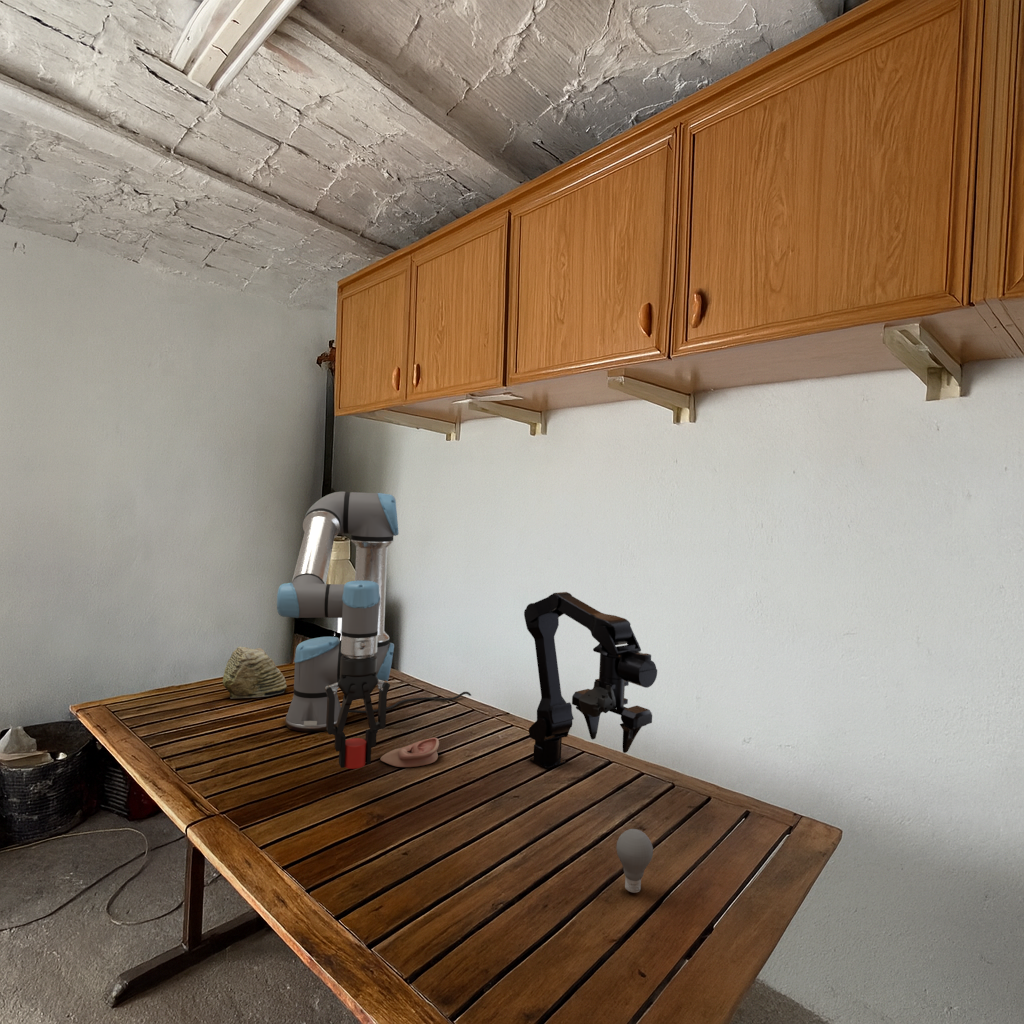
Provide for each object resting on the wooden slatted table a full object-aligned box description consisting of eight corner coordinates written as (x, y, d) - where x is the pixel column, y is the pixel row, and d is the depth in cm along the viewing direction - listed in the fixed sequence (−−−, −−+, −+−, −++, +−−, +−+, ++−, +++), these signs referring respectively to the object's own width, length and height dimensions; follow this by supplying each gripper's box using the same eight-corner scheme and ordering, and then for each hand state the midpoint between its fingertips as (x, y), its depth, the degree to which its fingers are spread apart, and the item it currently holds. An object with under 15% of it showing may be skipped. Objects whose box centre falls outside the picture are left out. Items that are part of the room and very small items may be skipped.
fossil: (218, 695, 195) (220, 647, 195) (278, 685, 208) (279, 640, 207) (228, 703, 189) (230, 653, 188) (289, 692, 201) (290, 645, 201)
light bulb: (610, 879, 108) (613, 822, 108) (644, 879, 109) (647, 822, 109) (619, 902, 102) (622, 840, 102) (655, 901, 103) (658, 840, 103)
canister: (345, 770, 132) (346, 747, 132) (340, 761, 136) (341, 739, 136) (368, 766, 134) (369, 744, 134) (362, 758, 138) (363, 736, 138)
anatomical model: (375, 747, 151) (394, 730, 162) (374, 764, 151) (393, 746, 162) (428, 754, 148) (443, 736, 159) (427, 771, 148) (443, 752, 159)
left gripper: (318, 661, 127) (313, 776, 128) (404, 656, 135) (400, 764, 135) (313, 652, 134) (309, 762, 134) (395, 648, 141) (391, 751, 142)
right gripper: (556, 671, 142) (553, 740, 142) (621, 692, 128) (618, 769, 128) (590, 664, 149) (586, 729, 149) (655, 683, 135) (651, 756, 135)
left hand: (354, 763), depth 135 cm, fingers closed on canister, 5 cm apart
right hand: (608, 745), depth 140 cm, fingers open, 9 cm apart
